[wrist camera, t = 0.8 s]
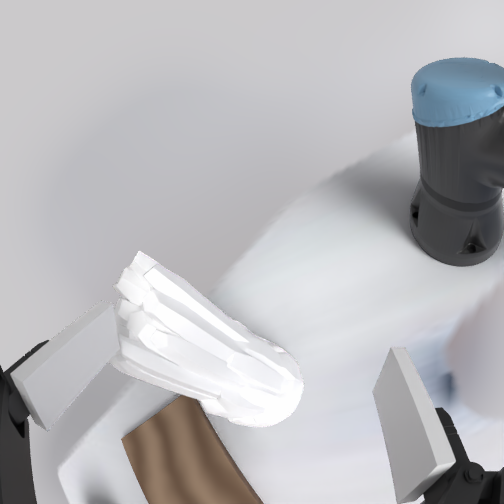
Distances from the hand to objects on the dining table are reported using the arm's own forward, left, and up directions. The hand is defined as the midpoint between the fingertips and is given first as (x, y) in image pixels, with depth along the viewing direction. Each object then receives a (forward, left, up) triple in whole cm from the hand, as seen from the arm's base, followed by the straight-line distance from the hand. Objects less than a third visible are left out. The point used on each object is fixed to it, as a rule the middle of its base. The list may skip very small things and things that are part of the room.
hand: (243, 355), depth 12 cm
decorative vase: (+5, -8, -23) cm, 25 cm away
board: (+22, -4, -23) cm, 32 cm away
